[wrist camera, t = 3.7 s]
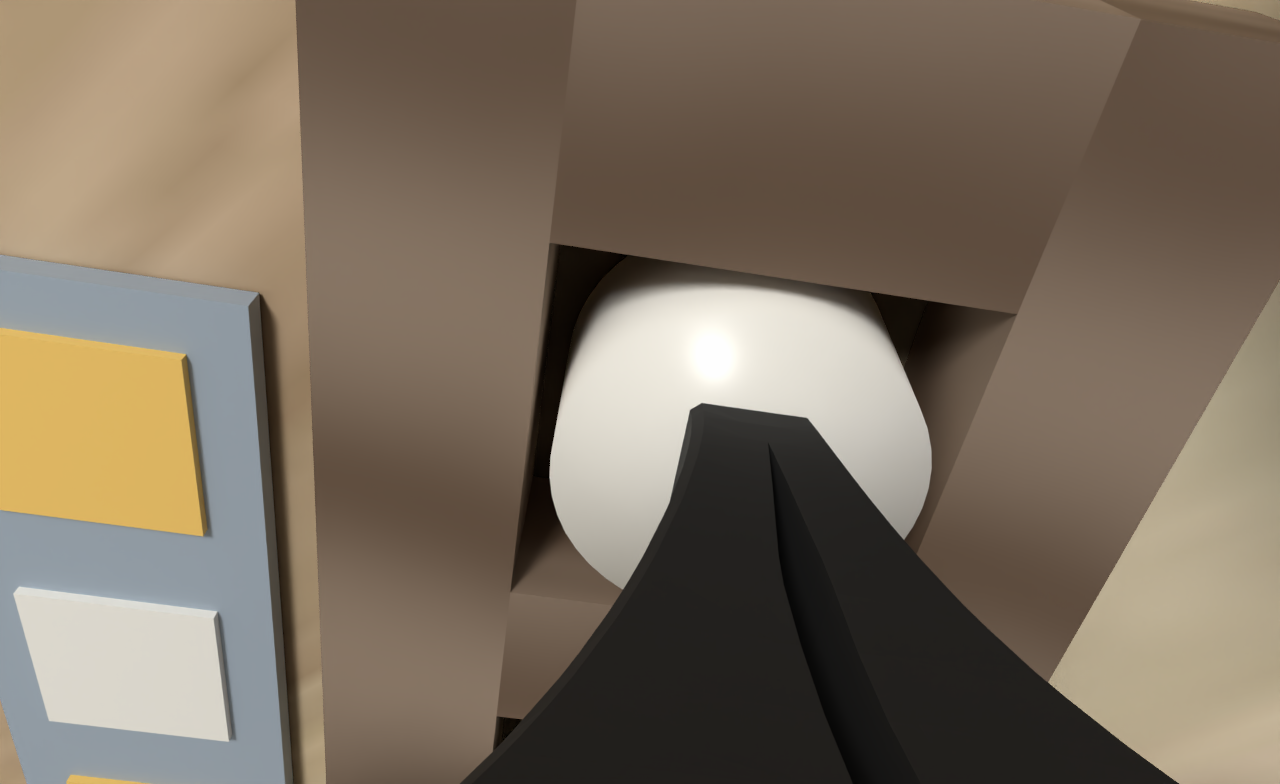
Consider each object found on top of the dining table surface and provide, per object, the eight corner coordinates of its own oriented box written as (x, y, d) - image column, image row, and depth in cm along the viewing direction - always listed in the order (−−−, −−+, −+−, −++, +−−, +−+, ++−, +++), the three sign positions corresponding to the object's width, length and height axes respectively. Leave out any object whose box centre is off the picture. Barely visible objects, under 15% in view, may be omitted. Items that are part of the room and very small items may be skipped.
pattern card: (-121, 236, 12) (-153, 254, 12) (259, 292, 13) (243, 311, 12) (69, 869, 20) (56, 894, 20) (301, 894, 21) (292, 919, 20)
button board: (369, -145, 10) (290, -131, 8) (1256, 11, 11) (1403, 65, 9) (368, 1018, 24) (340, 1137, 22) (754, 1056, 24) (763, 1175, 22)
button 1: (588, 197, 12) (572, 285, 10) (931, 251, 12) (988, 347, 10) (552, 474, 14) (533, 594, 12) (839, 513, 14) (868, 637, 12)
